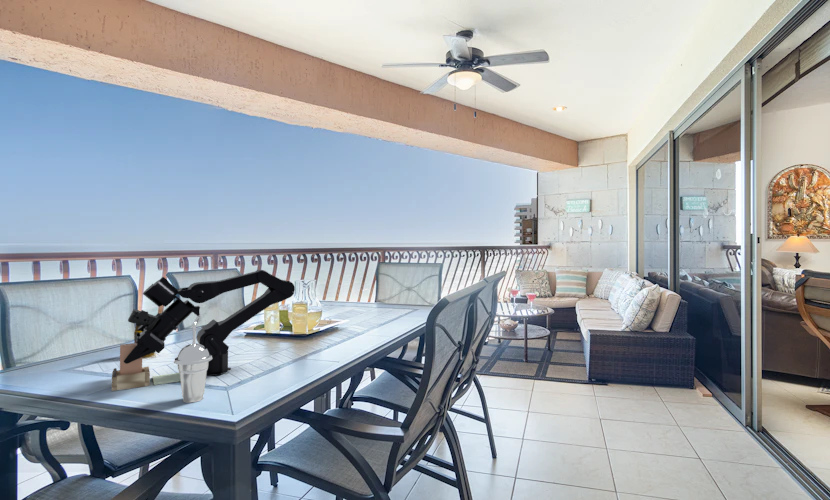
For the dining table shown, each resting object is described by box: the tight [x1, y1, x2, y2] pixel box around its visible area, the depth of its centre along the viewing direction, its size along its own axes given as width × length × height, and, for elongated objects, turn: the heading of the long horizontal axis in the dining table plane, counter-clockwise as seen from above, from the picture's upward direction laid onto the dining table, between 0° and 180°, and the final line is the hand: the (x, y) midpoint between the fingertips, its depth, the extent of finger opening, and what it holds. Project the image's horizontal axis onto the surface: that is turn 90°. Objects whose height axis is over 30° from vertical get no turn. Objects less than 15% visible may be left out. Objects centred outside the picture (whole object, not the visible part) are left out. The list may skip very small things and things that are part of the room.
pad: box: [152, 372, 181, 386], centre depth 120 cm, size 8×8×1 cm
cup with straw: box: [173, 315, 213, 404], centre depth 105 cm, size 8×9×20 cm
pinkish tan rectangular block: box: [119, 342, 143, 375], centre depth 115 cm, size 5×3×11 cm, turn 124°
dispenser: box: [111, 366, 151, 392], centre depth 115 cm, size 8×7×4 cm
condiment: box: [133, 323, 157, 360], centre depth 145 cm, size 7×8×12 cm
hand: (124, 361), depth 115 cm, fingers closed on pinkish tan rectangular block, 3 cm apart
